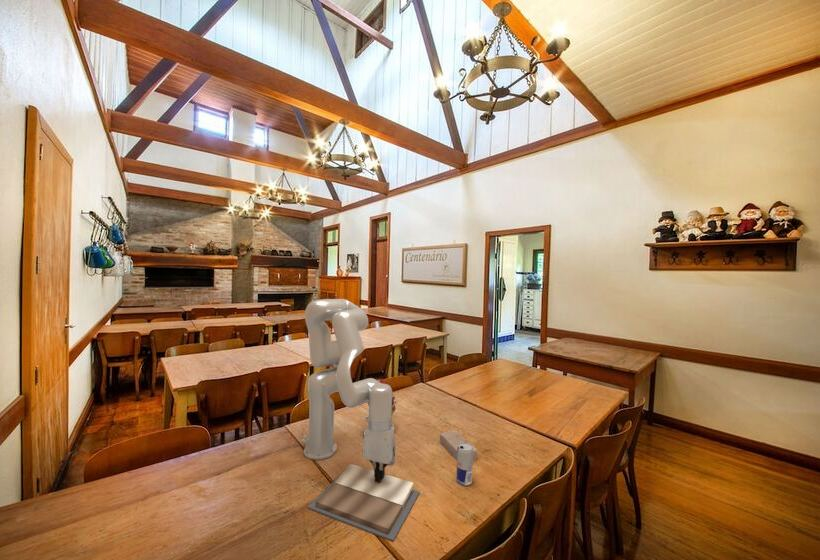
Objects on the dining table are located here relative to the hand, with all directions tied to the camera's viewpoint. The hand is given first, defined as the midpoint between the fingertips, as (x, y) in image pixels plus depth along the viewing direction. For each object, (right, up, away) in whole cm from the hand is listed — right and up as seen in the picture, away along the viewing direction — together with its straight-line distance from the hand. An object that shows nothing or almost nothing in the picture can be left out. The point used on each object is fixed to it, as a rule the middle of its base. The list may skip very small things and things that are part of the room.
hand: (379, 479), depth 99 cm
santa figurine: (-3, -3, +38) cm, 38 cm away
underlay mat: (-4, -3, -6) cm, 7 cm away
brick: (+30, -5, +24) cm, 38 cm away
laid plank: (-5, -3, -10) cm, 11 cm away
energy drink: (+29, -4, +5) cm, 30 cm away
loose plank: (-2, -2, -1) cm, 3 cm away
